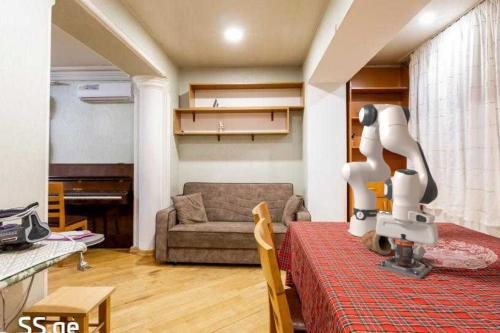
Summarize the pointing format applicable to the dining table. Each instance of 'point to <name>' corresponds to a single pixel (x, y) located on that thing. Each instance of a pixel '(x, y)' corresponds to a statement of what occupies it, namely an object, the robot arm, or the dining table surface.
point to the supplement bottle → (404, 251)
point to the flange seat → (413, 271)
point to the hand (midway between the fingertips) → (404, 251)
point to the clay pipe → (377, 242)
